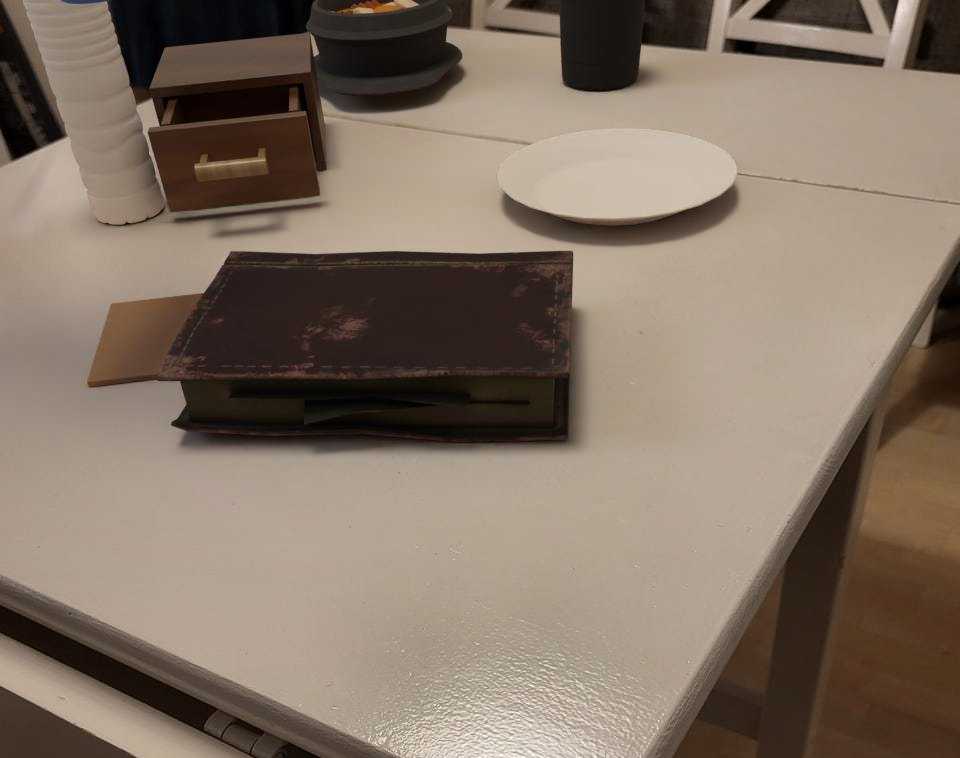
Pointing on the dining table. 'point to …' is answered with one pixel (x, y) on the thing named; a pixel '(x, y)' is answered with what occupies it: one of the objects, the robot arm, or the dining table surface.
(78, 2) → the bottle
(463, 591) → the dining table surface
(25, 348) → the dining table surface
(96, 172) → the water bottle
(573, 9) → the pen holder
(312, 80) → the cabinet
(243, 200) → the drawer
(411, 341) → the diary
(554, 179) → the plate
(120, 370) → the mat
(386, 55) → the casserole
